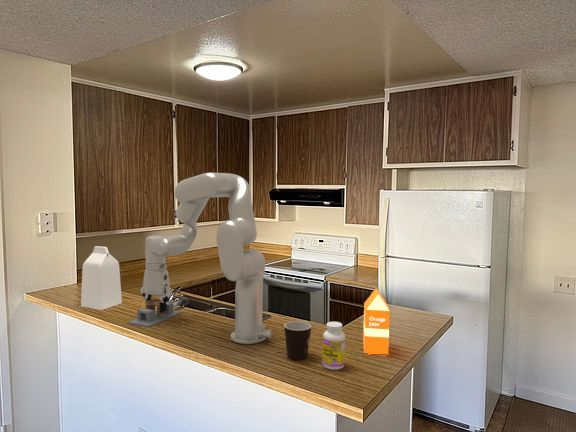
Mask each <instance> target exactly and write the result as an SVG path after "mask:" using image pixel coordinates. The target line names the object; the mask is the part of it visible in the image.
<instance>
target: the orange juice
mask: <svg viewBox="0 0 576 432" xmlns="http://www.w3.org/2000/svg"><path fill="white" fill-rule="evenodd" d="M363 305H364V306H363V308H364V309H363V336H362V337H363V340H362V345H364V346H363V354H364V353H368V354H367V355H372V354H388V355H389V339H390V308H389V306H388V302H386V300H385V299H384V297H383V295H382V294H381V293H380V291H379V290H378V288H377V287H376V288H375V289H374V290H373V291H372V292H371V294H370V295H369V297H368V298H367V299H366V300H365V302H364V303H363Z"/></svg>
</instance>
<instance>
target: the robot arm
mask: <svg viewBox="0 0 576 432" xmlns="http://www.w3.org/2000/svg"><path fill="white" fill-rule="evenodd" d="M174 197H175V200H176V201H178V202H179V205H178V206H177V208H176V210H175V214H174V215H175V217H176V218H177V220H178V221H180V222H181V223H182V224H183V226H182V228H181V229H180V232H179V234H178V235H170V236H165V237H164V236H163V235H156V234H154V235H149V236H146V238H145V269H144V274H143V283H142V286H141V288H140V289H139V292H140V293H141V294H142V297H143V299H144V301H145V302H146V301H148V300H151V299H152V296H155V297H159V300H161V303H160V313H162V312H165V311H166V302H169V300H170V298H171V297H172V296H173V295H174V294H173V292H172V291H171V289H170V277H169V271H168V270H167V268H168V265H167V264H166V263H167V262H166V257H172V256H176V255H182V254H184V253H186V252H188V251H189V249H190V248H191V247H192V245H193V243H194V242H195V240H196V237H197V234H198V225H197V221H198V219H199V217H200V215H201V214H202V212H203V210H204V208H205V207H206V206H207V203H208V202H209V199H210V198H229V200H228V205H227V206H228V207H227V208H228V209H227V211H228V216H229V219H227V220H225V221H223V222H221V224H219V226H218V228H217V231H216V236H215V237H216V238H215V239H216V245H217V253H218V256H219V257H218V258H219V263H220V268H221V269H220V270H221V272H222V274H223V276H224V277H225V278H226V279H227V280H228V281H232V282H236V283H235V291H234V293H235V294H234V295H235V297H234V298H235V299H234V306H235V307H234V311H235V312H234V313H235V314H234V331H233V332H232V333H230V340H231V341H232V342H234V343H237V344H242V345H253V344H259V343H261V342H263V341H265V340H266V339H267V338H268V339H269V338H272V335H273V334H272V330H271V329H266V328H265V327H266V325H265V324H263V291H264V289H263V287H264V278H265V277H264V276H265V270H266V258H265V256H264V254H263V253H262V252H261V251H260V250H259V249H255V248H246V249H244V246H248V245H251V244H253V243H254V242H255V241H256V239H257V236H258V232H257V224H256V219H255V213H254V208H253V203H252V191H251V187H250V184H249V183H248V181H247V180H246V179H245V178H244V177H242V176H240V175H238V174H234V173H229V172H228V173H227V172H204V173H201V174H198V175H195V176H192V177H188V178H185V179H183V180H181V181H179V182H178V183H177V185H176V186H175V188H174Z"/></svg>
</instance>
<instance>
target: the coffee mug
mask: <svg viewBox="0 0 576 432" xmlns="http://www.w3.org/2000/svg"><path fill="white" fill-rule="evenodd" d="M283 327H284V328H283V329H284V336H285V337H284V339H285V348H286V358H287V359H289V360H291V361H295V362H296V361H297V362H300V361H305V360H306V359H307V358H308V355H309V354H308V353H309V346H310V341H311V340H310V338H311V331H312V325H311V323H309V322H306V321H303V320H302V321H301V320H296V321H295V320H292V321H287V322H286V323H284V325H283Z"/></svg>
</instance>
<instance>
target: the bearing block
mask: <svg viewBox="0 0 576 432" xmlns="http://www.w3.org/2000/svg"><path fill="white" fill-rule="evenodd" d="M182 312H183V311H181V310H175V309H174V308H173V302H169V301H167V302H166V314H164V315H161V316H157V310H156V309H155V310H151V309H146V307H145V308H144V307H143V308H140V309H137V317H136V318H134V319H133V320H130V321H127V324H128V325H133V326H139V327H144V328H150V327H153V326H155V325H156V324H157V325H158V324H159V323H162V322H164V321H166V320H168V319H172V318H174V317H175V316H178V315H180V314H182Z"/></svg>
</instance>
